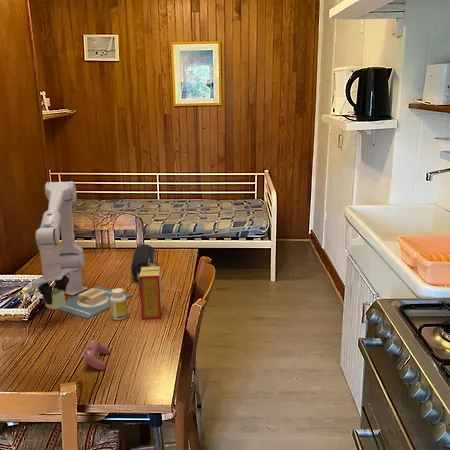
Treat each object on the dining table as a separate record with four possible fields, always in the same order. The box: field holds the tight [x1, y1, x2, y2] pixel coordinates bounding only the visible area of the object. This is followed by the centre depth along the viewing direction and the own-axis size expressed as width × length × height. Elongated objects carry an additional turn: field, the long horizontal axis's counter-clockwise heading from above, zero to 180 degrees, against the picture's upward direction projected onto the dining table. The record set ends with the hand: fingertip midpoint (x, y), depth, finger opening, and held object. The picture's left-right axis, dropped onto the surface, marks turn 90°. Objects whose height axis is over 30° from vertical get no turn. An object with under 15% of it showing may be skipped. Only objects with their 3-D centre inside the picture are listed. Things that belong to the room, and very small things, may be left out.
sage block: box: [45, 287, 66, 310], centre depth 157 cm, size 4×4×6 cm
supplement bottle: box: [110, 287, 128, 321], centre depth 161 cm, size 5×5×10 cm
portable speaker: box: [130, 244, 157, 281], centre depth 202 cm, size 25×10×10 cm, turn 7°
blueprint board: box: [56, 285, 132, 320], centre depth 173 cm, size 18×22×4 cm
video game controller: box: [82, 339, 111, 371], centre depth 134 cm, size 10×5×7 cm, turn 5°
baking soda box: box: [139, 265, 163, 321], centre depth 162 cm, size 10×6×16 cm
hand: (55, 301), depth 157 cm, fingers closed on sage block, 4 cm apart
